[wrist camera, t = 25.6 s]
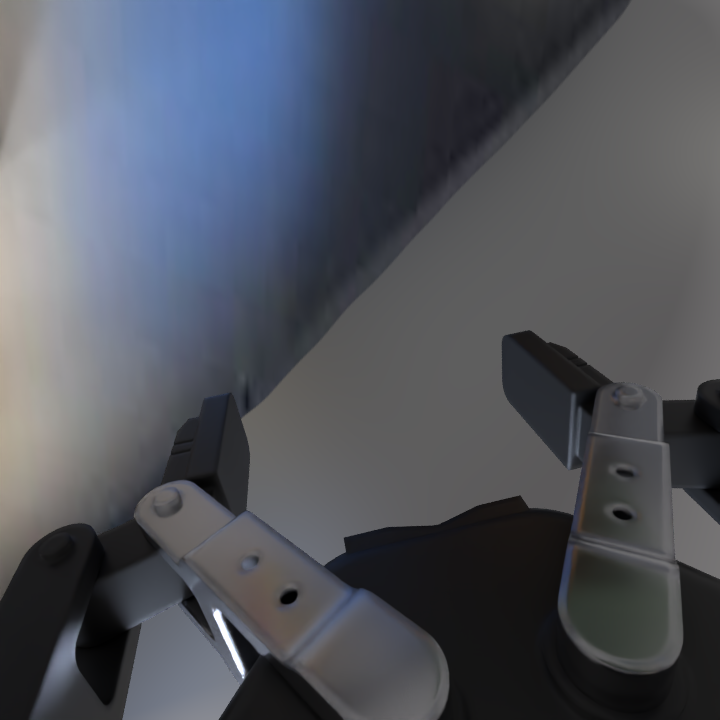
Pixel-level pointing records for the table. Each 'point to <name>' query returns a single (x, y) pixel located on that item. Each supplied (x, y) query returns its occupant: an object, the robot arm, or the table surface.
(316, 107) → the table surface
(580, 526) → the robot arm
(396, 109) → the table surface
